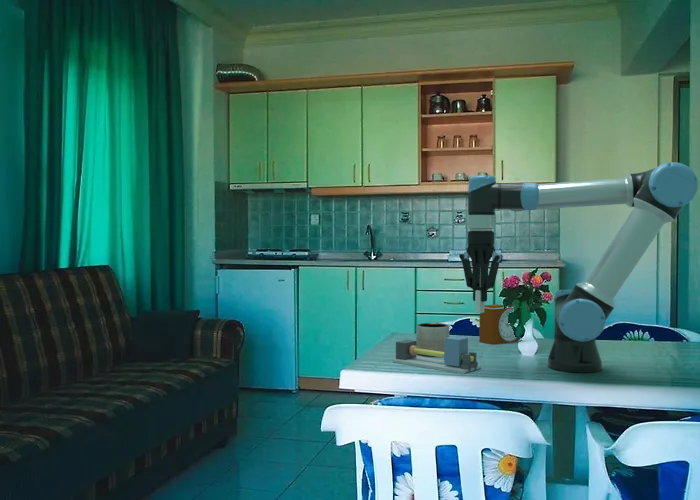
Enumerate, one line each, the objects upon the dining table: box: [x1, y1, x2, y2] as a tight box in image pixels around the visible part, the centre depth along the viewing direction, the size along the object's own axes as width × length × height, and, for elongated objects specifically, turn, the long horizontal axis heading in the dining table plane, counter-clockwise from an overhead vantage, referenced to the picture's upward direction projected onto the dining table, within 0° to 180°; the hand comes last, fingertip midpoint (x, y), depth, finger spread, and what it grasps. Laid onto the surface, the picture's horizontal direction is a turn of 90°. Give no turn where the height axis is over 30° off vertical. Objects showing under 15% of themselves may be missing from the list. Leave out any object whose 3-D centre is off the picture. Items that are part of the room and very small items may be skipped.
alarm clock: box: [478, 303, 519, 345], centre depth 241 cm, size 15×8×14 cm, turn 123°
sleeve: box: [443, 335, 469, 367], centre depth 193 cm, size 5×5×8 cm
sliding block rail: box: [392, 339, 482, 374], centre depth 198 cm, size 25×10×6 cm, turn 50°
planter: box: [415, 322, 450, 358], centre depth 217 cm, size 11×11×10 cm
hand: (479, 312), depth 188 cm, fingers closed
